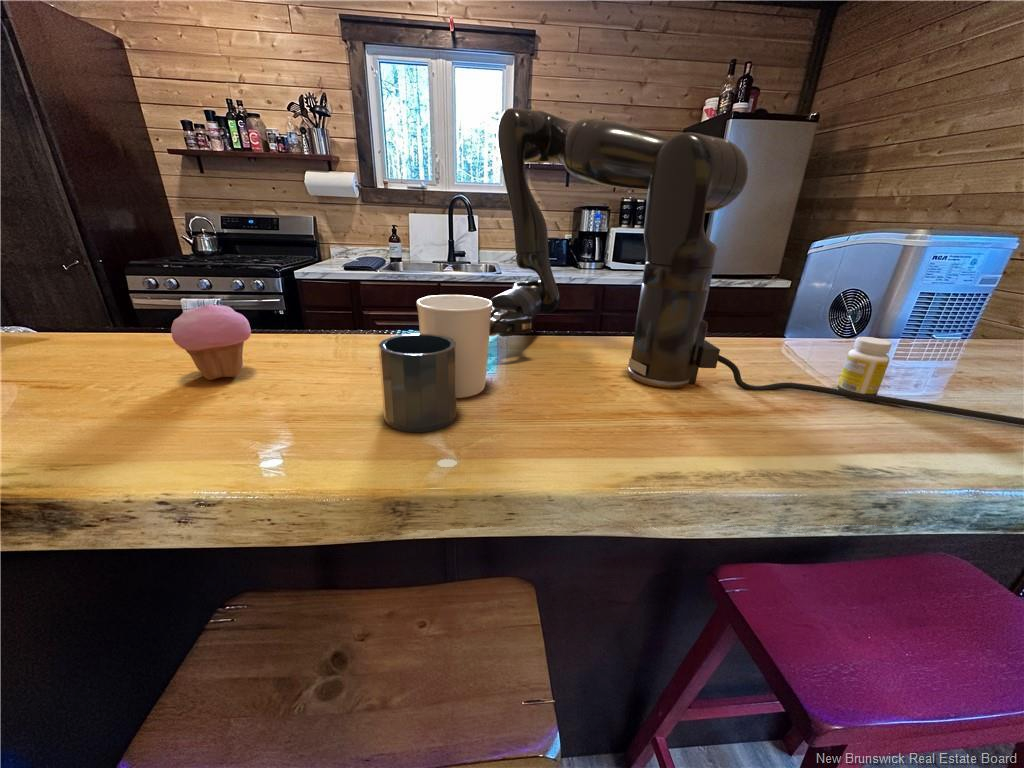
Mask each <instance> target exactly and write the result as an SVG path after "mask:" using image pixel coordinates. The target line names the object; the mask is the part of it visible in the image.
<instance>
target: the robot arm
mask: <svg viewBox="0 0 1024 768" xmlns="http://www.w3.org/2000/svg"><path fill="white" fill-rule="evenodd" d="M496 140H497V150H498V155H499V156H498V157H499V162H500V165H501V170H502V175H503V180H504V184H505V185H504V186H505V189H506V190H505V191H506V194H507V198H508V202H509V207H510V211H511V218H512V224H513V225H512V226H513V234H514V235H513V236H514V249H515V262H516V266H517V267H518V268H519V269H521V270H526V271H532V272H535V273H536V275H537V276H538V278H539V279H535V280H521V281H516V282H515V283H513V284H512V287H511V289H508V290H505V291H503V292H501V293H499V294H497V295H494V296H493V297H492V298H491V299H489V300H490V301H491V302H492V310H491V322H490V334H489V337H494V336H501V337H502V338H503V337H512V336H516V335H523V334H525V335H526V334H531V333H532V325H533V323H532V322H533V321H532V320H533V319H534V318H536V317H537V316H538V314H543V313H546V314H547V313H552V312H554V311H555V310H556V309H557V307H558V306H559V303H560V293H559V289H558V286H557V282H556V280H555V276H554V273H553V269H552V266H551V262H550V252H549V235H548V227H547V222H546V219H545V217H544V215H543V212H542V210H541V208H540V207H539V205H538V202H537V201H536V199H535V197H534V195H533V194H532V191H531V189H530V186H529V184H528V181H527V177H526V172H525V164H541V163H542V164H543V163H544V164H545V163H546V164H548V163H549V164H556V165H557V164H558V165H563V166H564V168H565V170H566V171H567V173H569V174H570V175H571V176H573V177H575V178H577V179H579V180H581V181H585V182H588V183H591V184H593V185H594V184H595V185H599V186H603V187H609V188H615V189H625V190H638V191H647V194H646V205H645V214H644V224H643V225H644V226H643V241H644V246H645V252H646V254H645V261H644V266H643V273H642V281H641V287H640V295H639V300H638V306H637V307H638V308H637V313H636V321H635V325H634V326H635V327H634V332H633V333H634V334H633V335H634V336H633V339H632V340H633V341H632V346H631V347H632V348H631V354H630V357H629V359H628V365H627V367H628V369H627V375H628V376H629V377H630V378H631V379H633V380H634V381H635V382H636V381H637V382H638V383H642V384H644V385H648V386H652V387H657V388H666V389H669V388H670V389H673V388H674V389H675V388H684V387H686V386H691V385H692V386H696V382H697V378H698V374H699V369H717V365H718V363H720V364H722V365H725V366H726V367H728V369H730V371H731V372H732V374H733V379H734V383H735V384H736V385H737V386H738V387H739V388H741V389H743V390H745V391H752V392H753V391H754V392H755V391H756V392H757V391H758V392H759V391H760V392H761V391H762V392H763V391H764V392H765V391H777V390H783V389H787V390H799V391H806V392H814V393H820V394H824V395H825V394H826V395H832V396H838V397H843V398H849V397H850V398H849V399H853V398H856V399H855V400H859V399H863V400H862V401H869V402H876V403H882V404H887V405H893V406H901V407H907V408H914V409H920V410H926V411H933V412H938V413H946V414H949V415H957V416H962V417H968V418H975V419H982V420H986V421H993V422H999V423H1006V424H1012V425H1016V426H1022V427H1023V426H1024V417H1018V416H1012V415H1005V414H999V413H993V412H985V411H980V410H973V409H966V408H961V407H954V406H947V405H941V404H936V403H930V402H924V401H917V400H910V399H904V398H897V397H892V396H885V395H878V394H877V395H872V394H862V393H857V392H852V391H846V390H840V389H837V388H833V387H827V386H821V385H815V384H814V385H813V384H807V383H800V382H799V383H798V382H787V381H785V382H776V383H769V384H764V385H751V384H750V383H749V384H748V383H746V382H744V381H743V379H742V377H741V371H740V369H739V367H738V366H737V365H736V364H735V363H734V362H733V361H731V360H730V359H728V358H727V357H725V356H722V355H721V354H720V353H721V349H720V348H719V347H717V346H716V345H714V344H712V343H711V342H709V341H707V340H706V336H707V331H708V325H709V324H708V321H705V320H704V317H705V316H704V315H705V312H706V307H707V302H708V297H709V292H710V288H711V287H710V286H711V284H712V283H711V282H712V277H713V272H714V267H715V264H716V258H717V255H718V254H717V253H718V250H717V249H718V248H717V246H716V244H715V243H714V242H712V241H711V240H710V239H709V238H708V236H707V234H706V232H705V216H706V214H708V213H713V212H716V211H719V210H721V209H724V208H725V207H727V206H728V205H730V204H732V203H733V202H734V201H735V200H736V199H738V197H739V196H740V195H741V194H742V192H743V191H744V189H745V187H746V185H747V183H748V182H747V181H748V178H749V165H748V161H747V158H746V156H745V154H744V153H743V151H742V150H741V149H740V148H739V147H738V145H736V144H735V143H733V142H732V141H731V140H729V139H725V138H723V137H717V136H712V135H707V134H702V133H698V132H690V131H689V132H681V133H678V134H675V135H674V136H672V137H671V138H669V137H665V136H662V135H659V134H656V133H653V132H651V131H647V130H645V129H642V128H638V127H635V126H631V125H627V124H623V123H621V122H620V123H619V122H616V121H611V120H603V119H596V118H584V119H578V120H573V121H572V120H567V119H565V118H562V117H560V116H557V115H554V114H552V113H549V112H546V111H543V110H537V109H526V108H518V107H517V108H516V107H511V108H507V109H506V110H504V111H503V112H502V114H501V115H500V117H499V120H498V124H497V130H496Z"/></svg>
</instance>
